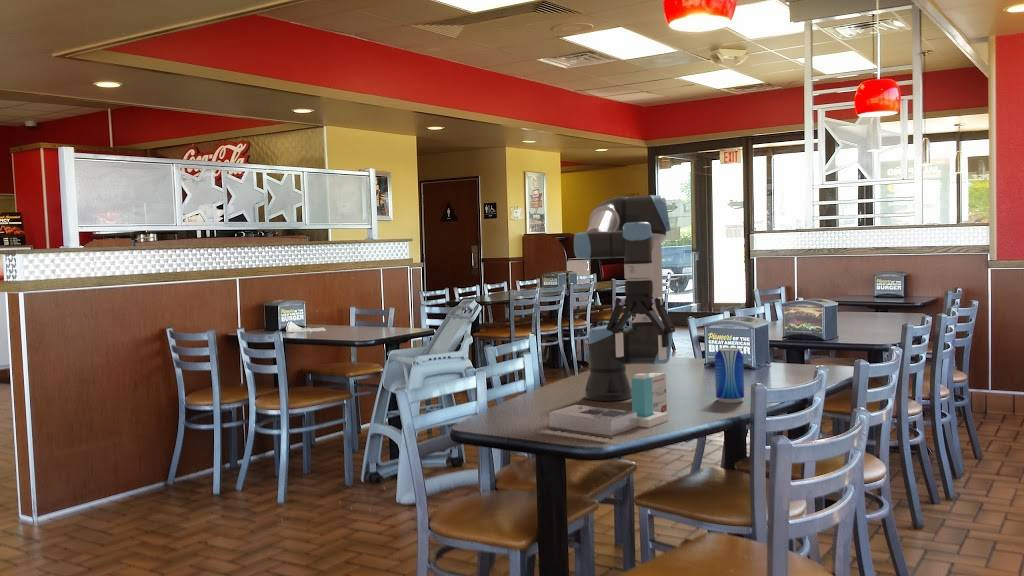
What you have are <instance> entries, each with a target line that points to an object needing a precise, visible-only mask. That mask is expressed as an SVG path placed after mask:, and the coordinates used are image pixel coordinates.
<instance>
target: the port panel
mask: <svg viewBox="0 0 1024 576" xmlns="http://www.w3.org/2000/svg"><path fill="white" fill-rule="evenodd" d="M548 413H549V428H550V429H549V430H553V431H552V432H557V431H561V432H560V433H564V432H567V431H566V430H569V432H570V433H574V432H572V431H576V433H577V434H581V433H580V432H583V433H582V434H583V435H582V436H584V435H588V434H589V435H590V436H589V437H591V436H596V437H595V438H598V437H602V435H603V437H604V438H603V439H605V438H610V439H609V440H611V439H612V437H607V436H614V435H615V436H616V435H617V434H621V433H623V432H626V431H630V430H632V429H633V430H634V429H635V428H638V426H637V412H633V411H632V410H624V409H614V408H606V407H597V406H589V405H583V404H582V405H581V404H574V405H570V406H567V407H563V408H560V409H555V410H553V411H549V412H548ZM551 428H552V429H551ZM553 428H554V429H553ZM560 429H561V430H560ZM570 433H569V434H570ZM586 433H588V434H586ZM577 434H576V435H577ZM592 434H596V435H592ZM612 440H613V439H612Z"/></svg>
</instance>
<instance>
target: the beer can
mask: <svg viewBox="0 0 1024 576" xmlns="http://www.w3.org/2000/svg"><path fill="white" fill-rule="evenodd" d="M740 350H741V348H739V347H718V348H717V352H716V354H715V356H714V367H715V368H714V370H715V371H714V375H715V376H714V379H715V398H716V399H717V400H718V402H719V403H724V404H726V403H727V404H735V403H737V404H738V403H741V402H742V401H743V400H744V398H745V383H744V382H745V380H744V379H745V375H744V374H745V372H744V355H743V353H742V352H741V351H740Z"/></svg>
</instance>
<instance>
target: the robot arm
mask: <svg viewBox="0 0 1024 576" xmlns="http://www.w3.org/2000/svg"><path fill="white" fill-rule="evenodd" d="M667 232H671V224H670V217H669V212H668V205H667V200H666V198H665V196H663V195H655V194H654V195H653V194H648V195H637V196H635V195H633V196H617V197H613V198H610V199H607V200H605V201H603V202H601V203H600V204H598V205H597V206H595V208H594V209H593V210H592V211H591V213H590V216H589V226H588V228H587V230H586V231H583V232H577V233H575V234H574V236H573V252H574V256H575V258H576V259H582V260H584V259H585V260H591V259H592V260H593V259H614V258H615V259H616V258H617V259H618V258H619V259H620V258H624V259H623V262H624V264H623V268H624V270H623V271H624V279H625V281H624V294H625V297H624V296H619V297H616V298H615V301H614V303H615V305H614V308H613V310H612V313H611V315H610V318H609V320H608V323H607V324H604V325H599V326H596V327H593V328H591V329H590V330H589V332H588V343H587V345H588V356H589V357H588V362H589V363H588V364H589V365H588V366H589V375H588V379H587V381H586V386H585V389H584V398H585V399H586V400H590V401H599V402H615V401H623V400H629V399H632V385H631V384H630V383H631V382H630V381H629V378H628V375H627V366H626V365H654V366H655V365H665V364H668V362H669V361H670V359H671V351H672V345H673V335H674V334H673V333H675V332H676V328H675V325H674V324H673V322H672V320H671V317H670V315H669V313H668V311H667V308H666V307H665V301H664V298H663V294H664V292H663V260H662V259H663V258H662V255H663V253H662V252H663V251H662V247H663V246H662V243H663V241H664V240H665V239H666V237H667ZM625 305H626V308H625V310H624V311H623V309H624V306H625ZM622 312H623V313H622ZM621 314H622V315H621ZM633 315H635V318H633V320H632V321H631V323H630V325H631V327H626V326H625V325H626V324H627V323H628V321H629V320H630V318H631V316H633Z"/></svg>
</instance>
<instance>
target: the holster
mask: <svg viewBox="0 0 1024 576" xmlns="http://www.w3.org/2000/svg"><path fill="white" fill-rule="evenodd" d="M668 421H669V412H654V411H653V415H652V416H649V417H639V416H637V427H643V428H648V429H649V428H652V427H654V426H658V425H660V424H663V423H666V422H668Z"/></svg>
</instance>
